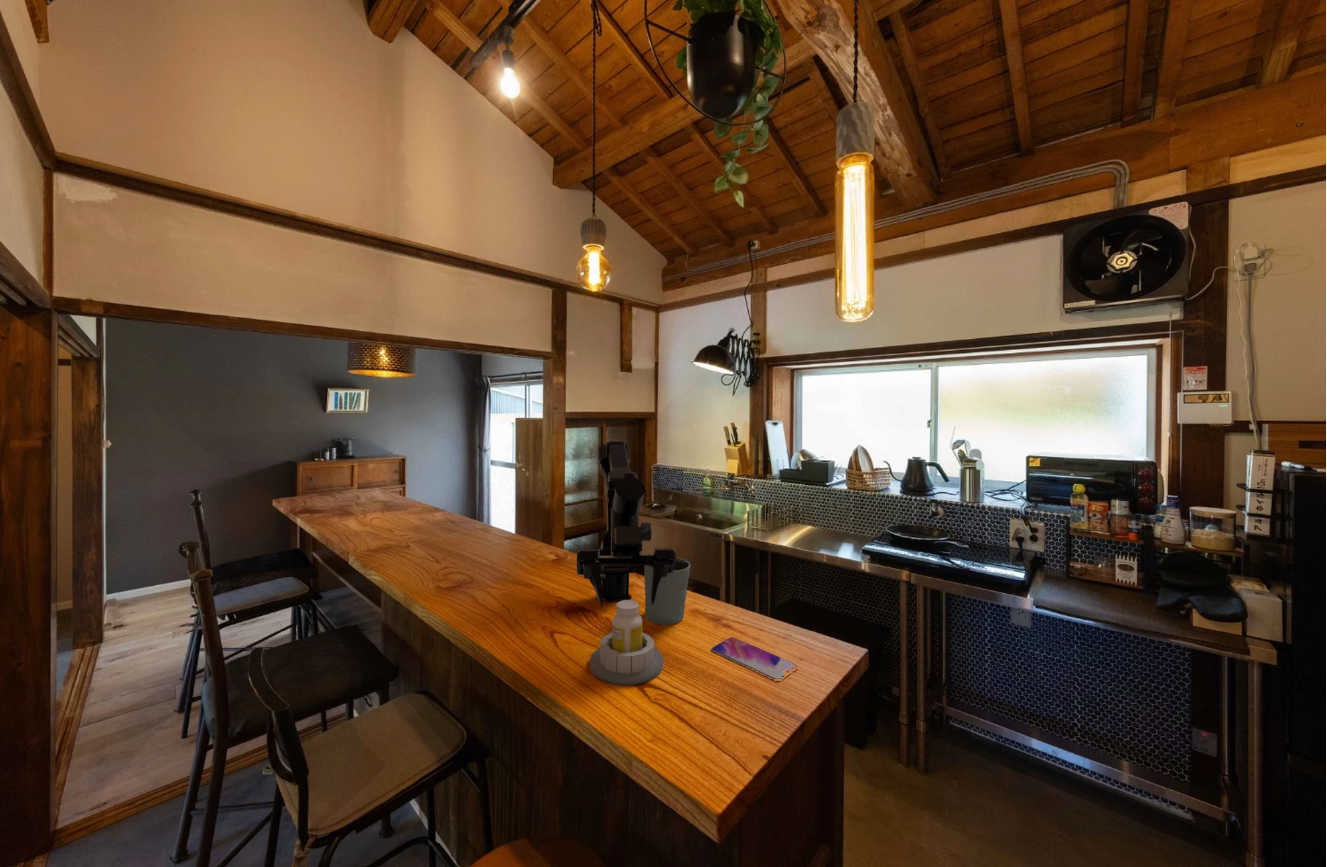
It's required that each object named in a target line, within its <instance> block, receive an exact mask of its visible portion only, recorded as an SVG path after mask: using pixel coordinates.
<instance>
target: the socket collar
mask: <svg viewBox="0 0 1327 867" xmlns="http://www.w3.org/2000/svg"><path fill="white" fill-rule="evenodd" d="M663 668H664V657H663V655H662V653H661V652H660V650H658V649H657V648H655V640H654V638H652V637H651V636H650V635H649V634H648V633H644V632H642V650H640V651H635V652H631V653H628V652H618V651H615V650H612V632H610V633H607V635H605V636H603V637H602V638H601V640H600V643H599V648H597V649H596V650H594V652H592V654H591V655H590V658H589V670H590V671H591V674H592V675H593V676H594V677H595V678H597V679H598V680H600V681H603V682H605V683H606V684H611V685H617V686H635V685H636V686H637V685H640V684H645V683H647V681H648V682H650V681H651V680H654V679H655V678H656V677H658V676H659V675H660V674H661V673H662V672H663Z"/></svg>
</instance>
